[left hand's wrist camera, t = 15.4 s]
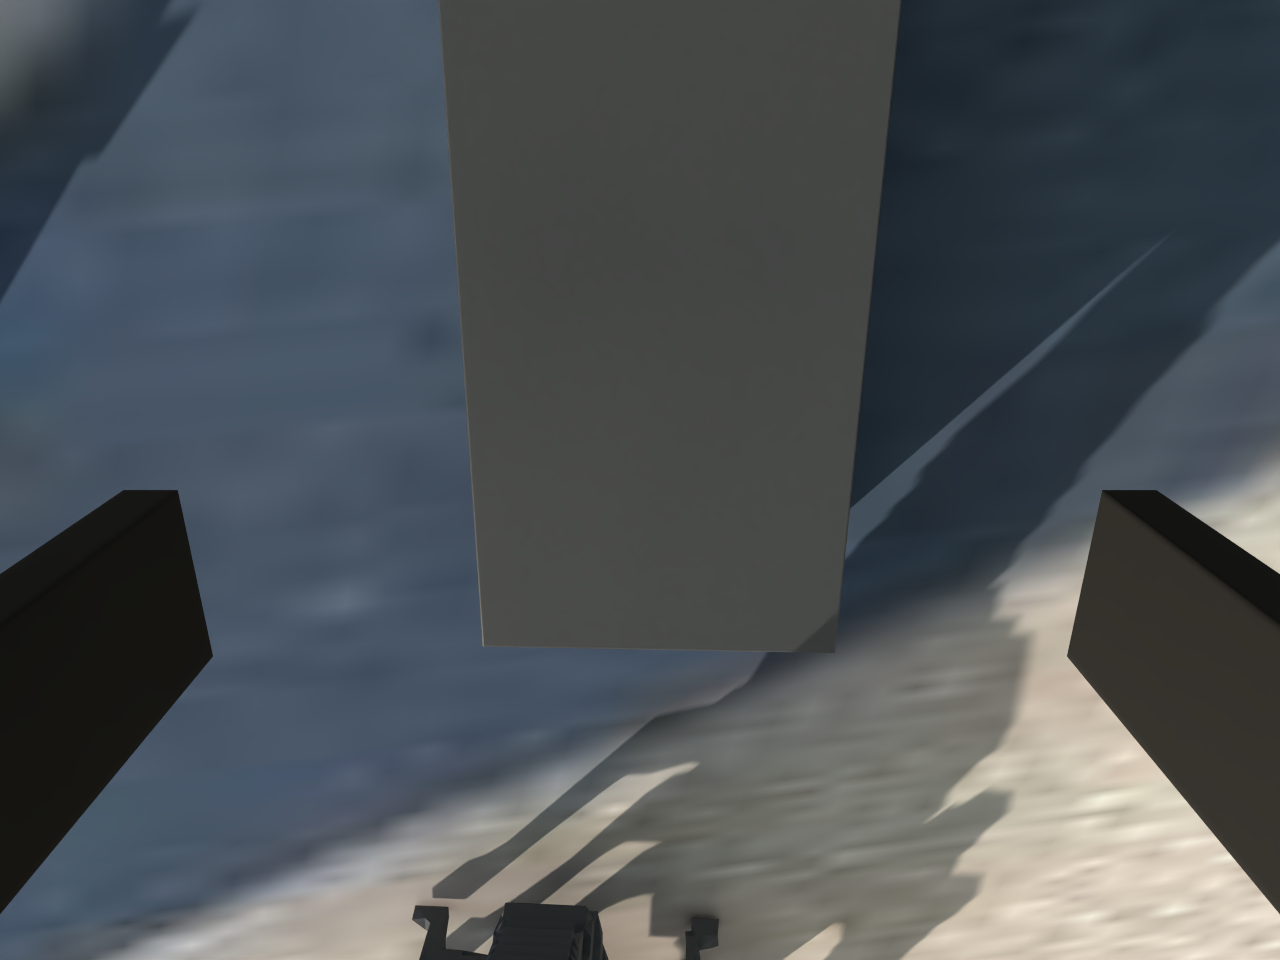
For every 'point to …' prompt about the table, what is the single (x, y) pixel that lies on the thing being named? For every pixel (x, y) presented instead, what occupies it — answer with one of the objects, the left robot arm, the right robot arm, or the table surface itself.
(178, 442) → the table surface
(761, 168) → the thick board
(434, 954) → the toy
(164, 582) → the left robot arm
